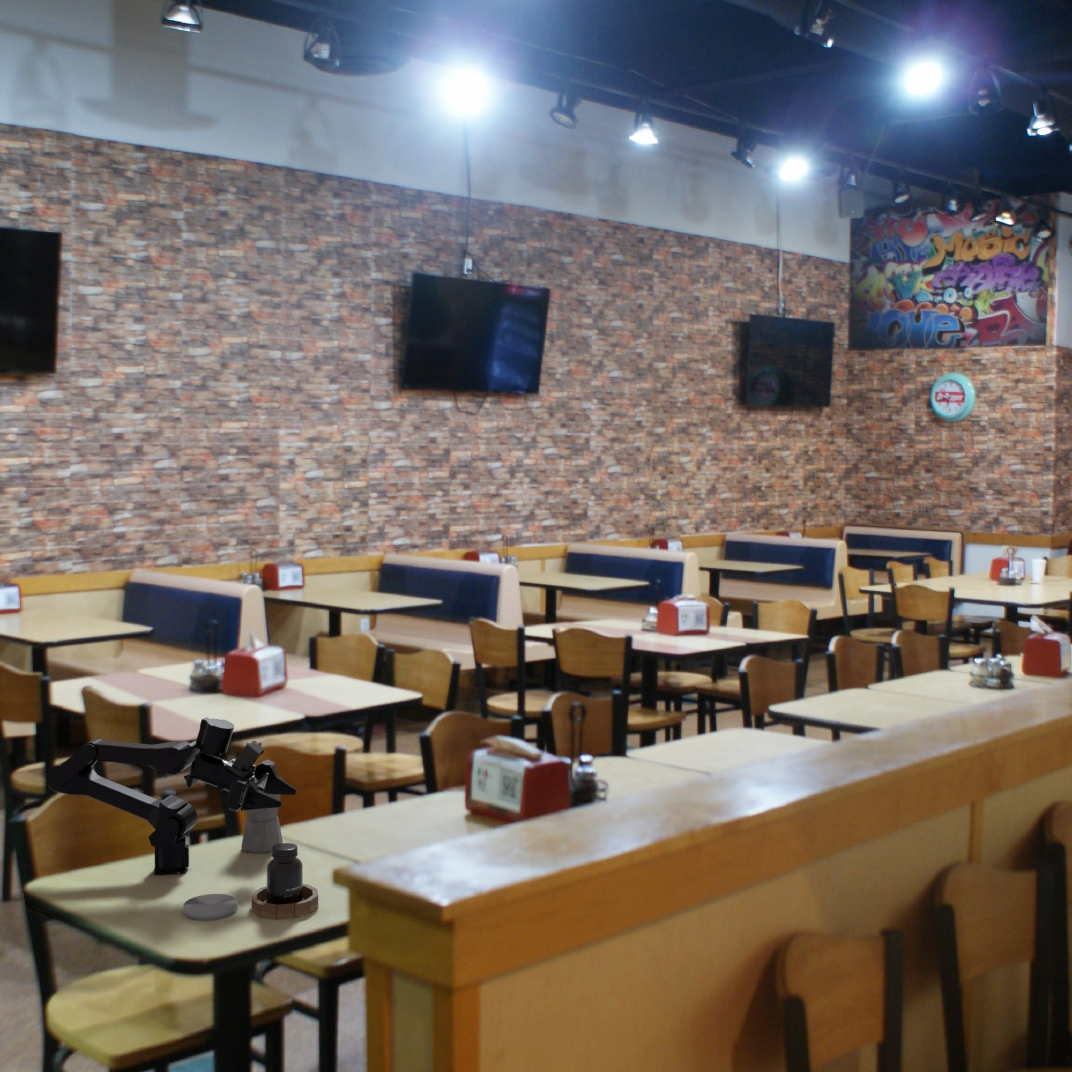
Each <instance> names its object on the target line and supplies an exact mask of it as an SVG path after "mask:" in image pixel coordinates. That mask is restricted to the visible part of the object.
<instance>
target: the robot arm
mask: <svg viewBox="0 0 1072 1072" xmlns="http://www.w3.org/2000/svg"><path fill="white" fill-rule="evenodd" d="M234 729H235V724H234V723H233V722H231V721H229V720H226V719H220V718H219V719H218V718H209V717H204V718H201V721H200V723H199V731H198V732H197V737H196V740H193V741H191V742H188V741H185V740H177V741H167V742H162V743H157V744H148V743H147V744H146V743H138V742H136V743H135V742H126V741H117V740H115V741H114V740H106V739H104V740H103V739H101V738H94V739H92V740H89V741H88V742H85V743H84V744H83V745H82V746H81V747H80V749H78V750H77V751H76V752H75V753H73V754H72V755H70V757H68V758H67V759H66V760H64V761H62V762H60V763H58V764H56V765H54V766H52V767H50V769H48V772H47V773H46V782H47V784H48V788H49V789H50V790H52V791H53V792H56V793H58V794H59V793H60V794H64V795H69V796H85V797H89V798H92V799H94V800H97V801H99V802H101V803H103V804H107V805H109V806H111V807H113V808H116V809H118V810H121V811H123V812H125V813H128V814H131V815H132V816H136V817H138V818H140V819H143V820H145V821H146V822H148V823H149V825H151V827H152V828H153V829H154V831H152V832H151V833H150V835H149V836H148V840H149V843H150V845H151V847H154V852H153V853H154V870H153V875H172V874H182V873H184V874H185V873H187V868H189V867H190V845H189V843H188V844H187V836H189V835H190V832H191V829H193V828H194V827H195V826H196V824H197V823H198V818H199V817H198V812H197V810H196V808H195V806H193V804H190V800H189V799H187V800H185V799H181V798H179V797H178V796H176V795H175V794H174V795H173V794H170V795H168V796H167V797H166V798H164V799H156V798H155V797H151V796H149V795H147V794H144V793H142V792H140V791H137V790H135V789H132V788H130V787H127V786H125V785H122V784H120V783H118V782H114V781H113V780H110V779H107V778H105V777H103V776H101V775H98V773H97V772H96V771H95V770H94V768H92V767H93V766H94V765H96V763H97V762H98V761H99V762H108V763H119V764H130V765H139V766H140V765H141V766H145V767H150V768H151V769H154V770H155V771H158V772H160V773H164V774H168V775H178V774H179V773H182V771H184V770H186V769H188V768H189V767H190V768H189V771H188V773H186V774H185V775H184V776H183V779H184V780H185V783H186V785H187V788H192V787H193V786H195V785H196V784H198V781H199V782H201V783H204V784H208V785H210V786H213V787H216V792H219V793H221V792H223V791H227V792H228V793H227V797H226V800H225V802H224V803H225V805H226V806H225V807H226V808H227V809H228V810H229V811H232V812H235V813H237V812H239V811H241V812H244V811H245V810H253V809H264V808H278V807H279V808H281V807H282V805H283V801H282V800H281V799H280V800H278V799H276V798H274V797H272V796H270V795H268V794H279V795H281V796H282V795H283V796H295V795H297V791H298V790H297V788H295V787H293V785H292V784H290V783H289V782H287V781H286V780H284V778H283V777H281V776H280V775H279V774H278V771H277V766H276V762H275V761H273V760H271V759H270V760H269V759H265V760H263V761H261V762H260V763H258V764H257V765H256V764H255V763H256V762H257V760H258V759H259V758H260V756H261V755H263V754H264V753H265V752H266V749H265V748H264V747H262V746H263V745H262V742H261V741H257V740H249V741H247V742H246V745H245V746H244V747H243V749H242V751H241V752H240V753H239V755H238V756H237V757H236V758H232V759H230V760H226V759H223V758H220V757H221V755H222V754H226V753H227V752H228V749H229V745H230V742H231V739H232V735H233V732H234ZM196 756H197V757H196ZM254 770H255V772H254ZM253 772H254V773H253ZM282 778H283V779H282ZM279 808H278V809H279Z"/></svg>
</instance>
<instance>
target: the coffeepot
mask: <svg viewBox="0 0 1072 1072" xmlns="http://www.w3.org/2000/svg"><path fill="white" fill-rule="evenodd" d="M254 772H255V770H254ZM254 772H253V773H254ZM281 778H282V779H283V780H284V778H283V777H281ZM268 795H270V796H272V797H274V798H276V799H278V800H280V801H281V796H282V795H279V794H268ZM279 808H280V807H278V808H264V809H253V810H244V811H245V812H246V819H245V822H244V829H243V835H242V839H241V840H242V841H241V849H242V850H243V851H245V852H249V853H253V852H255V853H256V852H257V853H256V854H262V853H263V854H264V852H265V853H270V852H271V853H272V847H273V846H274V845H276V844H281V843H284V842H283V840H284V839H283V836H282V830H281V825H280V818H279V816H278V810H279ZM255 853H254V854H255Z"/></svg>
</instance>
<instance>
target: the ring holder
mask: <svg viewBox="0 0 1072 1072" xmlns="http://www.w3.org/2000/svg"><path fill="white" fill-rule="evenodd" d="M250 895H251V904H250V905H251V914H253V915H255V916H257V917H259V918H262V919H269V920H270V919H271V920H288V919H290V918H291V919H297V918H300V916H301V915H304V916H307V915H306V914H308V915H310V914H312V913H313V912H314V911H316V910H317V909H319V892H318V888H317V887H315V886H312V885H309V884H308V883H307V884H306V883H303V889H302V899H303V900H302V901H300V902H297V903H293V904H280V905H277V904H269V903H267V885H266V886H263V887H260V888H258V889H257V890H255V891H253V892H252V893H251V894H250ZM304 899H305V900H304ZM311 912H312V913H311ZM309 913H310V914H309ZM301 917H302V916H301Z"/></svg>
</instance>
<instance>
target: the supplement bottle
mask: <svg viewBox="0 0 1072 1072" xmlns="http://www.w3.org/2000/svg"><path fill="white" fill-rule="evenodd" d="M298 853H299V851H298V845H297V844H296V843H295V844H294V843H292V842H283V843H281V844H276V845H274V846H273V847H272V851H271V857H272V858H271V859H270V860H269V861H268V862H267V865H266V886H267V901H266V903H269V904H277V905H280V904H293V903H297V902H300V901H303V898H302V889H303V884H304V883H303V881H304V880H303V879H304V878H303V873H304V871H303V870H304V869H303V868H304V867H303V862H302V860H301V859H300V858H298Z"/></svg>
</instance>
